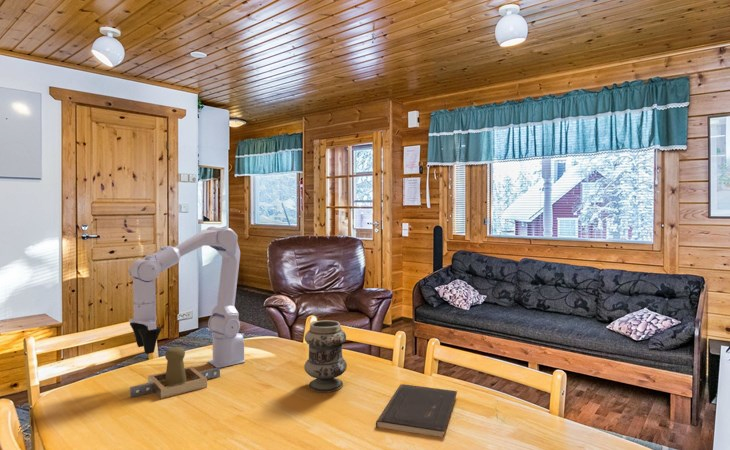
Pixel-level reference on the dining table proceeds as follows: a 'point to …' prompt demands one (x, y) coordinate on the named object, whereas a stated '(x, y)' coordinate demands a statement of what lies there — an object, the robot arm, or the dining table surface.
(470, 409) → the dining table surface
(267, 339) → the dining table surface
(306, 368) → the apothecary jar
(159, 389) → the square frame
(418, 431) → the hardcover book
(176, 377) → the cork
